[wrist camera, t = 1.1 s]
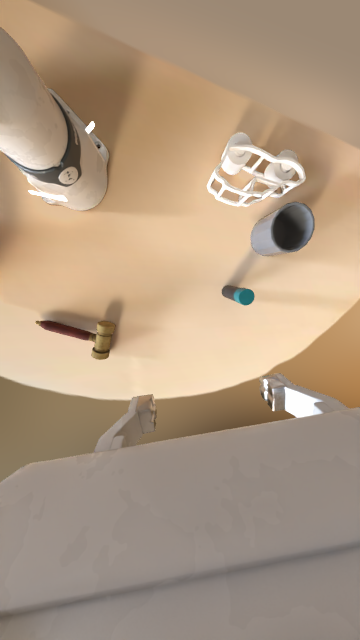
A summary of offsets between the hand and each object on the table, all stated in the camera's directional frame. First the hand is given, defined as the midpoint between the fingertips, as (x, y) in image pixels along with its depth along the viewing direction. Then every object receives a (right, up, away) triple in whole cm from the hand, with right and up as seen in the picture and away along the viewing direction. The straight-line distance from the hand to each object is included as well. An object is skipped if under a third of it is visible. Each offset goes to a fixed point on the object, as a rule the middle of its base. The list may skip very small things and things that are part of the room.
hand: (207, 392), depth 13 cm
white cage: (+15, +40, +31) cm, 53 cm away
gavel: (-32, +2, +37) cm, 49 cm away
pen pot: (+22, +28, +34) cm, 50 cm away
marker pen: (+12, +14, +38) cm, 42 cm away
